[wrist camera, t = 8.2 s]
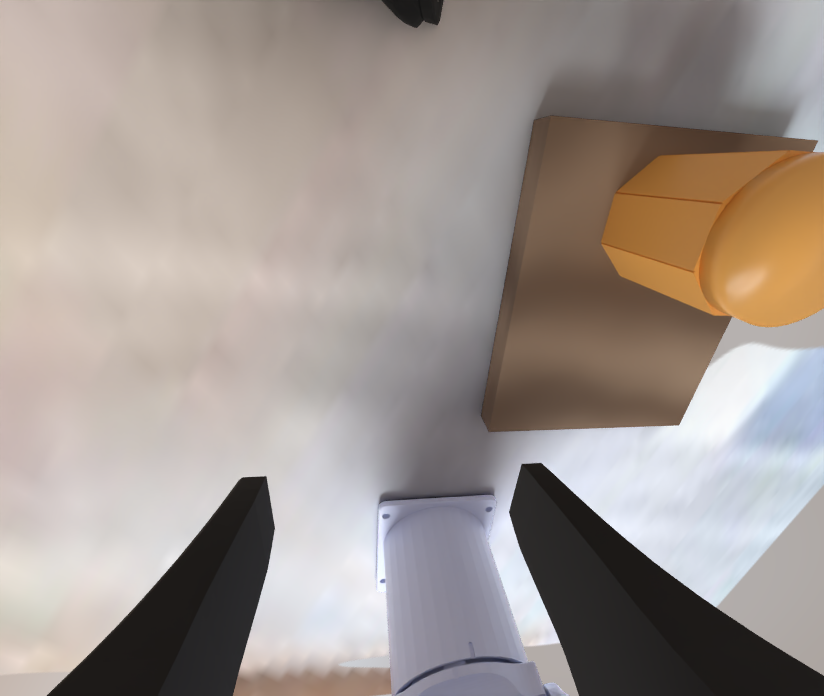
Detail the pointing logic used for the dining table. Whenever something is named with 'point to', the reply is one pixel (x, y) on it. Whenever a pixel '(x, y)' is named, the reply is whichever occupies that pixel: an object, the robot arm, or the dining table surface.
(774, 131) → the dining table surface
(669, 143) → the board
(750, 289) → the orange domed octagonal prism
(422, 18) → the electric trimmer
